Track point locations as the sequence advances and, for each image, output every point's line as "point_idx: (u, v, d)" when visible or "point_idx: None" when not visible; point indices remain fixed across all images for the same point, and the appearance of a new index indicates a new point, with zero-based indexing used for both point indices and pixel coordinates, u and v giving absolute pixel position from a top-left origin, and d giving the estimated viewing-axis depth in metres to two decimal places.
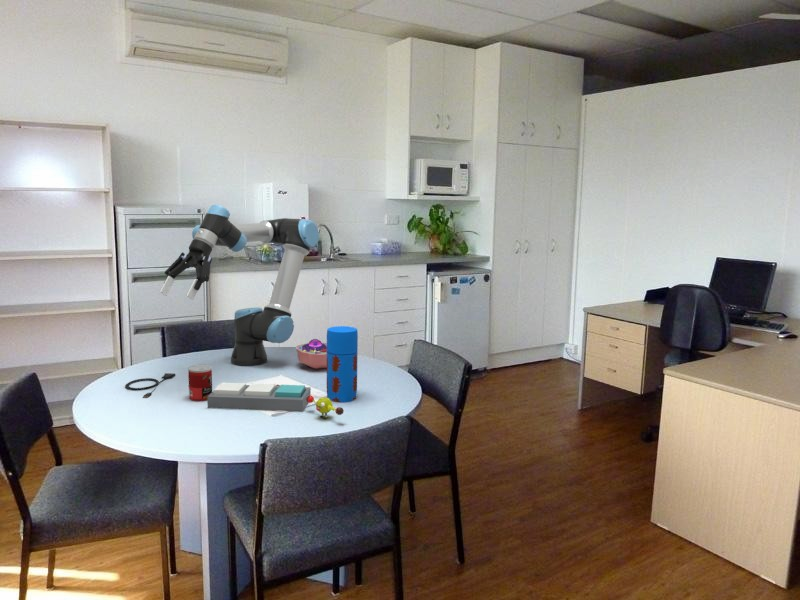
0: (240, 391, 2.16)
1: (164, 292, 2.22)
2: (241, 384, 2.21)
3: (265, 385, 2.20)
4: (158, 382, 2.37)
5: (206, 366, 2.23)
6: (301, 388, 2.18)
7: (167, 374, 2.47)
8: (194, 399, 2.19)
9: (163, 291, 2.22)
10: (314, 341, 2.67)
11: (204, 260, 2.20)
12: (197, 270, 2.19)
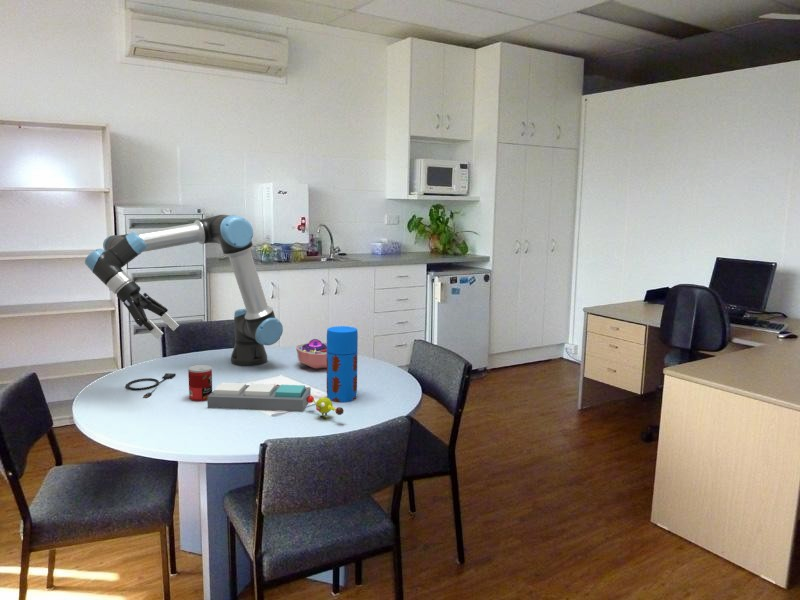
0: (240, 391, 2.16)
1: (174, 327, 2.26)
2: (241, 384, 2.21)
3: (265, 385, 2.20)
4: (158, 382, 2.37)
5: (206, 366, 2.23)
6: (301, 388, 2.18)
7: (167, 374, 2.47)
8: (194, 399, 2.19)
9: (173, 328, 2.26)
10: (314, 341, 2.67)
11: None
12: None
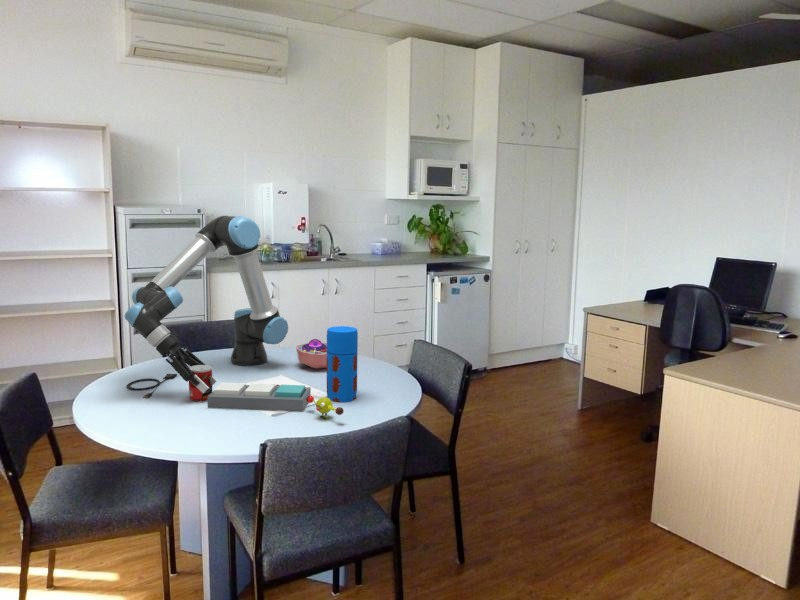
0: (240, 391, 2.16)
1: (212, 382, 2.26)
2: (241, 384, 2.21)
3: (265, 385, 2.20)
4: (159, 382, 2.36)
5: (206, 366, 2.23)
6: (301, 388, 2.18)
7: (169, 374, 2.47)
8: (194, 399, 2.19)
9: None
10: (314, 341, 2.67)
11: None
12: None
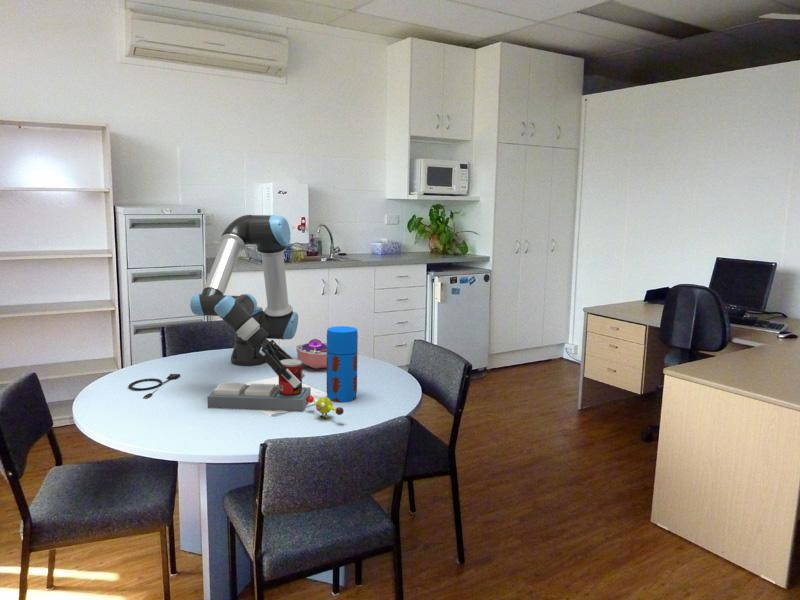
0: (240, 391, 2.16)
1: None
2: (241, 384, 2.21)
3: (265, 385, 2.20)
4: (161, 383, 2.36)
5: (295, 360, 2.18)
6: (301, 392, 2.18)
7: (172, 375, 2.46)
8: (285, 394, 2.14)
9: None
10: (314, 341, 2.67)
11: None
12: None
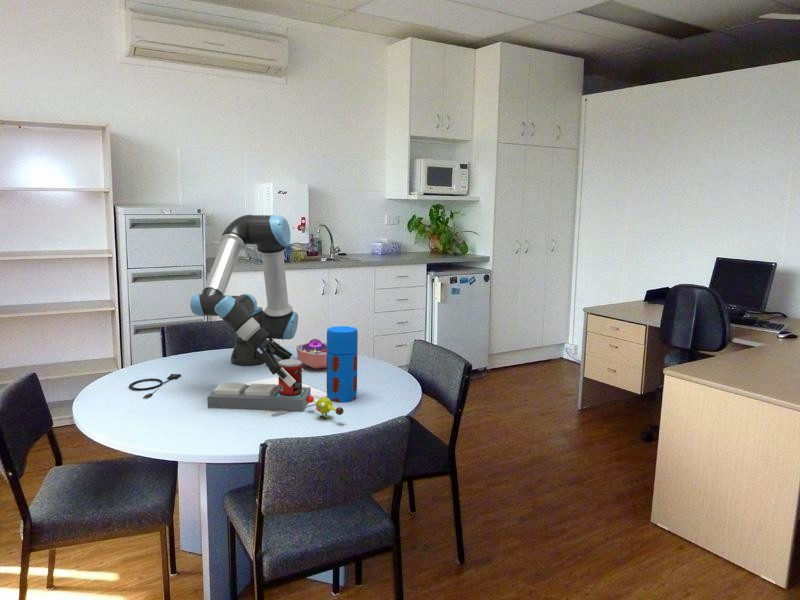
0: (240, 391, 2.16)
1: None
2: (241, 384, 2.21)
3: (265, 385, 2.20)
4: (162, 383, 2.36)
5: (295, 360, 2.18)
6: (301, 392, 2.18)
7: (173, 375, 2.46)
8: (285, 394, 2.14)
9: None
10: (314, 341, 2.67)
11: None
12: None
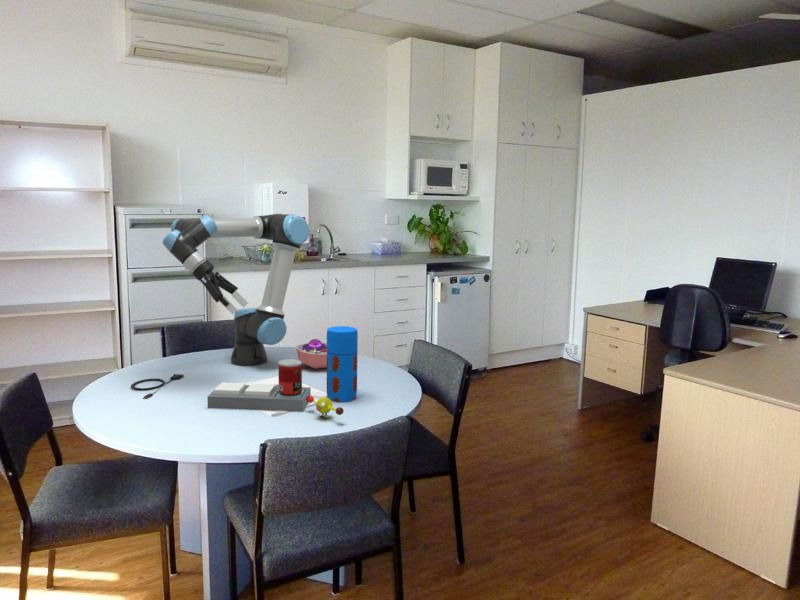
0: (240, 391, 2.16)
1: (244, 304, 2.38)
2: (241, 384, 2.21)
3: (265, 385, 2.20)
4: (163, 383, 2.36)
5: (295, 360, 2.18)
6: (301, 392, 2.18)
7: (175, 375, 2.46)
8: (285, 394, 2.14)
9: (243, 305, 2.39)
10: (314, 341, 2.67)
11: None
12: None
